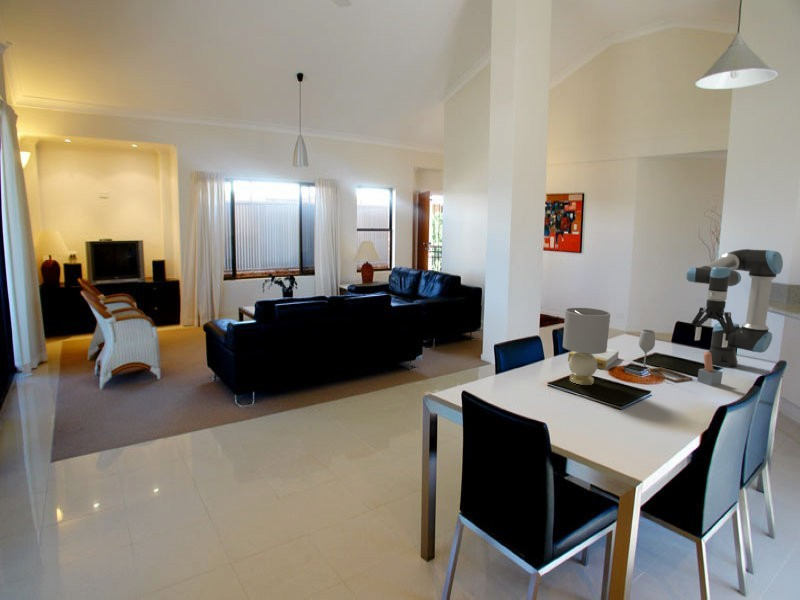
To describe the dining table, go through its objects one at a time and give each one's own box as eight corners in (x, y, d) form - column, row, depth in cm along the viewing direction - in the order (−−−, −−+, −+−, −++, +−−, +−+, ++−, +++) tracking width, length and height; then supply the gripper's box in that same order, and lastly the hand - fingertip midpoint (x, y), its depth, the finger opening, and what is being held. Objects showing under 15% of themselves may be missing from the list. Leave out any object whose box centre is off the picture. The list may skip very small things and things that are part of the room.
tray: (660, 371, 258) (660, 367, 258) (691, 382, 242) (692, 377, 241) (643, 373, 254) (643, 369, 253) (674, 384, 237) (674, 380, 237)
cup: (706, 382, 242) (708, 367, 241) (720, 386, 236) (722, 372, 234) (696, 383, 239) (698, 369, 238) (710, 388, 233) (712, 373, 232)
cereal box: (568, 353, 270) (583, 343, 293) (567, 362, 271) (582, 352, 294) (606, 360, 259) (619, 349, 281) (605, 370, 260) (618, 359, 282)
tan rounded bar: (709, 382, 240) (713, 350, 237) (715, 384, 237) (719, 352, 234) (698, 384, 237) (702, 351, 234) (704, 386, 234) (708, 353, 231)
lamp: (609, 382, 239) (616, 311, 233) (593, 392, 224) (600, 317, 218) (570, 372, 252) (575, 306, 246) (552, 381, 238) (558, 311, 232)
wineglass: (653, 371, 257) (658, 333, 254) (638, 370, 259) (642, 332, 255) (649, 367, 265) (653, 329, 261) (634, 366, 266) (638, 328, 262)
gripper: (686, 295, 239) (681, 337, 243) (737, 304, 217) (731, 350, 220) (697, 295, 242) (691, 336, 246) (748, 303, 219) (742, 349, 223)
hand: (710, 343), depth 233 cm, fingers open, 13 cm apart
